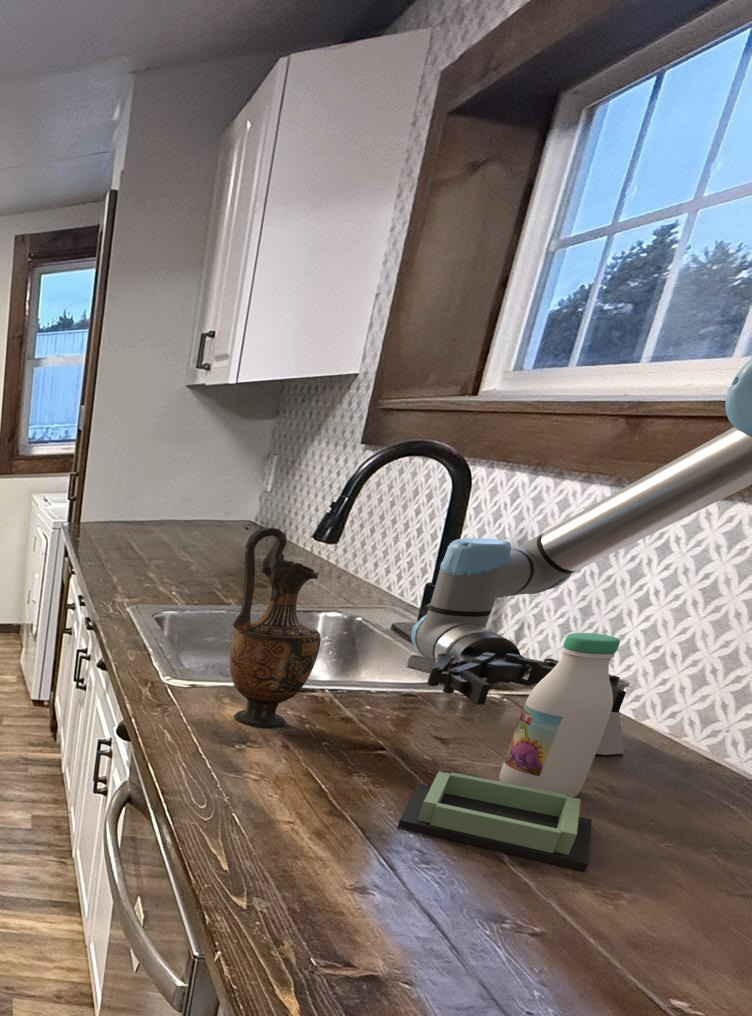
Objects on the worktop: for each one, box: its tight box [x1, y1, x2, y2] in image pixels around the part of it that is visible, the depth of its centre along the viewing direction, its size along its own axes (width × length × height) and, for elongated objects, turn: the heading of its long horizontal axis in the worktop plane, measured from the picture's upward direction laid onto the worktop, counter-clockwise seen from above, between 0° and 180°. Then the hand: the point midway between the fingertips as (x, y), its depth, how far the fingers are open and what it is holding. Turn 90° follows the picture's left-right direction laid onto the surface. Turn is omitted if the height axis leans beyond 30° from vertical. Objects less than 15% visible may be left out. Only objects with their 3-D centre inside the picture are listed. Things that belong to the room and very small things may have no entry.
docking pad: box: [397, 771, 593, 872], centre depth 96 cm, size 16×14×4 cm
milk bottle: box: [498, 632, 621, 798], centre depth 102 cm, size 8×8×20 cm
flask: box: [595, 678, 631, 756], centre depth 115 cm, size 7×7×10 cm
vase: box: [229, 527, 322, 728], centre depth 127 cm, size 12×12×30 cm
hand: (549, 698), depth 105 cm, fingers open, 13 cm apart
